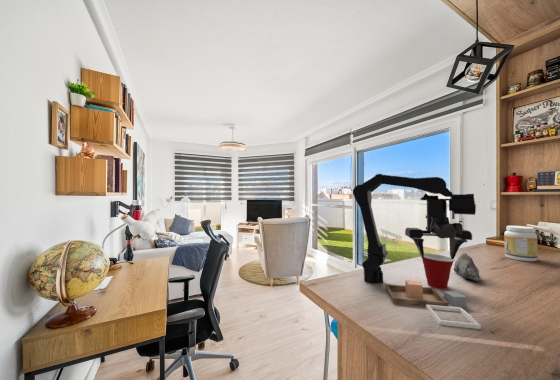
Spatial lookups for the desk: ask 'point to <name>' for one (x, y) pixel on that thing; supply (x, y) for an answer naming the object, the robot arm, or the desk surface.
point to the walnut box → (429, 297)
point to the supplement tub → (521, 243)
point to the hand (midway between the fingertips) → (437, 258)
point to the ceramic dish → (453, 323)
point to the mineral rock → (466, 267)
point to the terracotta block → (414, 289)
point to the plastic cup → (437, 270)
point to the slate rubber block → (455, 299)
